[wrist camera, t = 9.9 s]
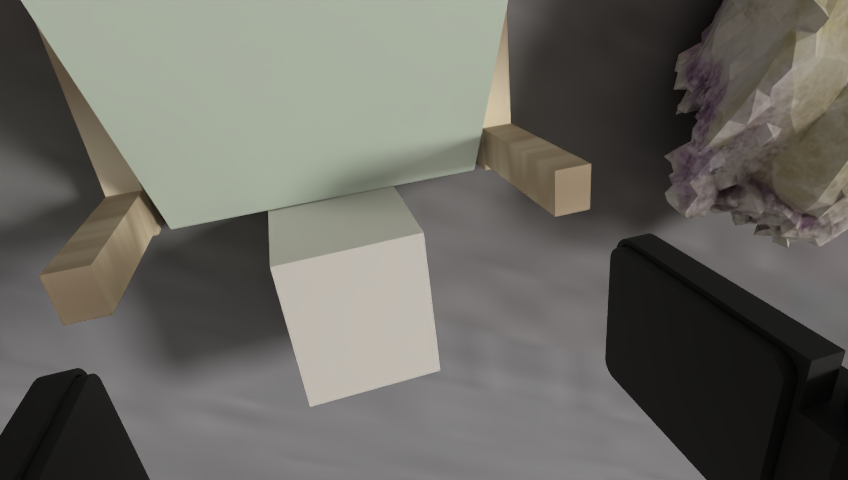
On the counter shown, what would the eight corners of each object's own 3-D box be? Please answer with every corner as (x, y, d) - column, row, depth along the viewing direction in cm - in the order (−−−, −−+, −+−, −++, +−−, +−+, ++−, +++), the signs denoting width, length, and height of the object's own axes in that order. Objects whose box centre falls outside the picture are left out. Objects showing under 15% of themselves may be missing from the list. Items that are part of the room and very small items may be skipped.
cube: (269, 267, 16) (309, 406, 19) (423, 232, 17) (440, 370, 20) (267, 206, 21) (300, 328, 23) (390, 181, 22) (408, 301, 24)
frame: (-40, -200, 14) (-429, -454, 6) (485, -226, 17) (671, -422, 9) (130, 231, 20) (37, 381, 12) (503, 158, 23) (627, 241, 15)
